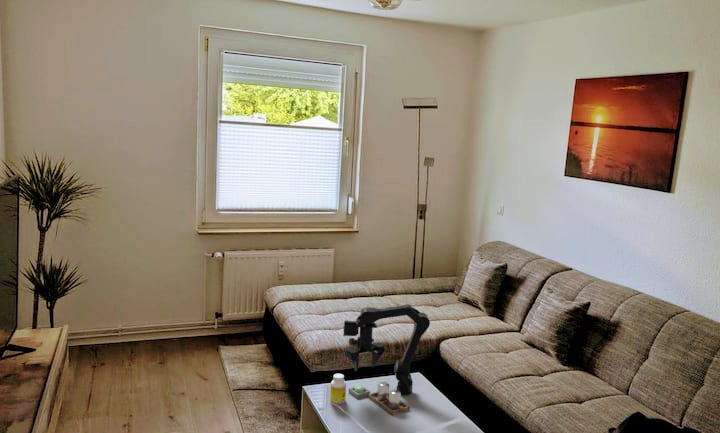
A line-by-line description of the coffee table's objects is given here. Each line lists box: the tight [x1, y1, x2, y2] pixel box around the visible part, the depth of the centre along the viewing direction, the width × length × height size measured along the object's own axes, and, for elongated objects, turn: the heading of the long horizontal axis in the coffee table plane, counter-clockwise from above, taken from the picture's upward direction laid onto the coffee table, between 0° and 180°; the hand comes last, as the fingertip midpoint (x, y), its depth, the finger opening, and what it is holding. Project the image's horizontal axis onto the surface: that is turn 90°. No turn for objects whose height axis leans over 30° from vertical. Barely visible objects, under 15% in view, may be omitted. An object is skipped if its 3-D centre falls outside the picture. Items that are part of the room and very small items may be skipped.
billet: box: [376, 381, 390, 402], centre depth 251 cm, size 5×5×7 cm
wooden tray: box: [367, 391, 411, 416], centre depth 248 cm, size 9×18×3 cm, turn 34°
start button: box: [354, 385, 365, 393], centre depth 256 cm, size 4×4×3 cm
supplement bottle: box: [329, 373, 347, 407], centre depth 248 cm, size 7×7×13 cm
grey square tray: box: [348, 384, 371, 400], centre depth 256 cm, size 7×7×3 cm
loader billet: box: [388, 389, 402, 410], centre depth 244 cm, size 5×5×7 cm
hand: (364, 368), depth 257 cm, fingers open, 9 cm apart
